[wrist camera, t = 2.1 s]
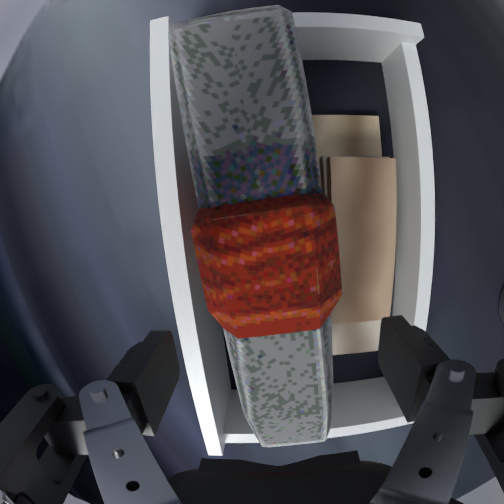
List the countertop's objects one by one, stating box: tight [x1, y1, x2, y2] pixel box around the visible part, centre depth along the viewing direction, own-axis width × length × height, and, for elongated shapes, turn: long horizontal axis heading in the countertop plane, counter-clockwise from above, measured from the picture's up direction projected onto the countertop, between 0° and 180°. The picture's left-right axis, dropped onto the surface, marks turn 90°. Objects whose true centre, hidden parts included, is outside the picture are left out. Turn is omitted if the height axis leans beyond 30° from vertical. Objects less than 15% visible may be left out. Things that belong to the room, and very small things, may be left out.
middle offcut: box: [319, 156, 390, 355], centre depth 30 cm, size 6×20×2 cm, turn 3°
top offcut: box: [326, 157, 397, 324], centre depth 27 cm, size 6×15×2 cm, turn 3°
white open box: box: [150, 12, 435, 456], centre depth 27 cm, size 22×40×10 cm, turn 5°
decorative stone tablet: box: [168, 5, 342, 447], centre depth 23 cm, size 19×6×30 cm
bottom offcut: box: [312, 115, 382, 180], centre depth 31 cm, size 7×24×2 cm, turn 4°
